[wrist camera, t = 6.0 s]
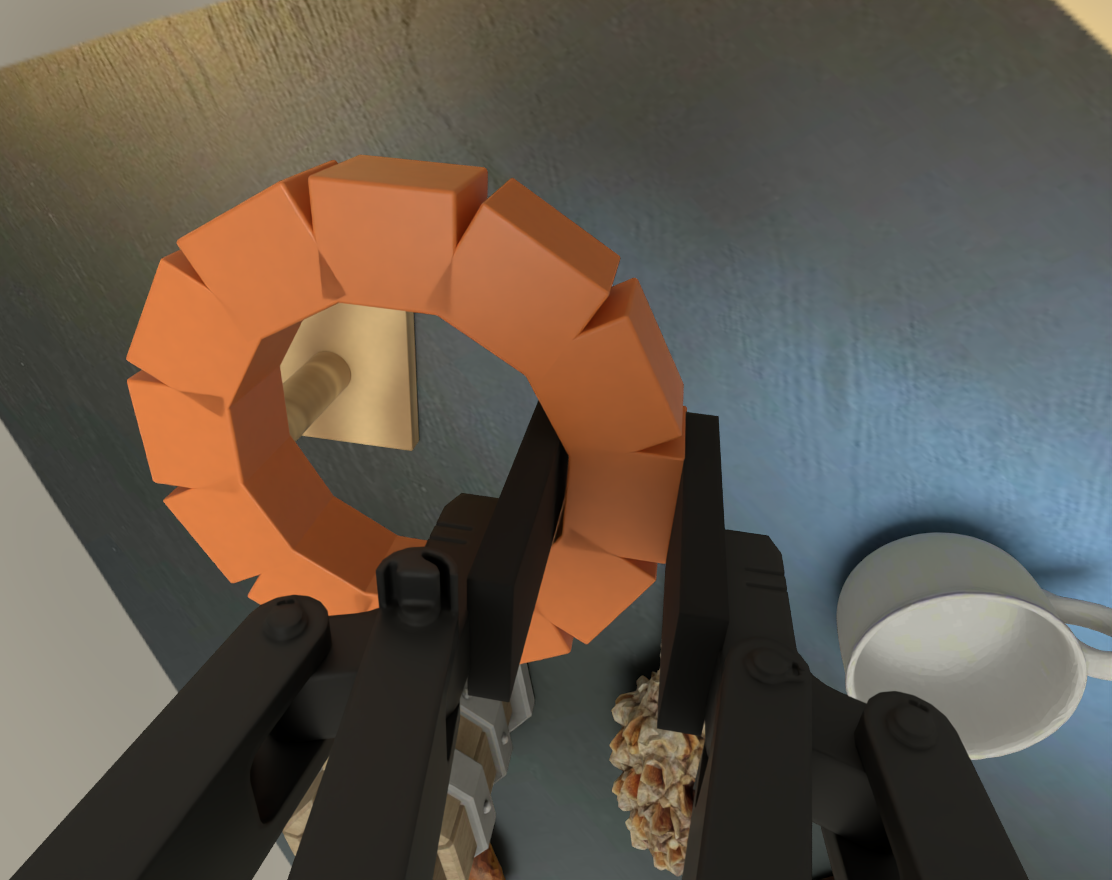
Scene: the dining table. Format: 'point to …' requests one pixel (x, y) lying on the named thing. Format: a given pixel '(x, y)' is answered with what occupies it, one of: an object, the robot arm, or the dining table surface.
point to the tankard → (461, 778)
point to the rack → (353, 377)
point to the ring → (423, 287)
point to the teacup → (968, 639)
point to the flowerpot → (829, 878)
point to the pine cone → (654, 776)
